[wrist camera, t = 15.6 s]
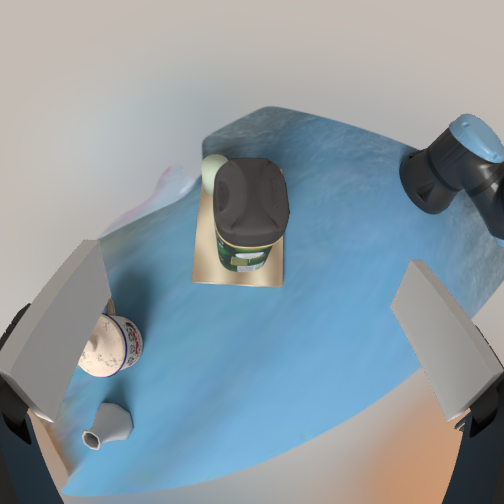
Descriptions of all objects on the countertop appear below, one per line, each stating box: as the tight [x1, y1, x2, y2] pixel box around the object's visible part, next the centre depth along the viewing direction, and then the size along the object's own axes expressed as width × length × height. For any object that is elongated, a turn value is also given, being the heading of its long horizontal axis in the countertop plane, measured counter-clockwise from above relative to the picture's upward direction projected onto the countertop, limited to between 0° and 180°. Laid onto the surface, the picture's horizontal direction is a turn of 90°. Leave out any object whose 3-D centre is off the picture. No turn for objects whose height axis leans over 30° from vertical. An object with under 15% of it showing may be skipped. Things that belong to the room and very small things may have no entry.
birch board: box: [192, 169, 283, 287], centre depth 45 cm, size 14×21×2 cm, turn 177°
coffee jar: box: [213, 158, 290, 272], centre depth 35 cm, size 10×8×19 cm
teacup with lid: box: [78, 297, 143, 377], centre depth 34 cm, size 12×9×12 cm
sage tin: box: [201, 154, 228, 196], centre depth 43 cm, size 4×4×6 cm
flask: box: [82, 403, 133, 450], centre depth 30 cm, size 7×7×10 cm
